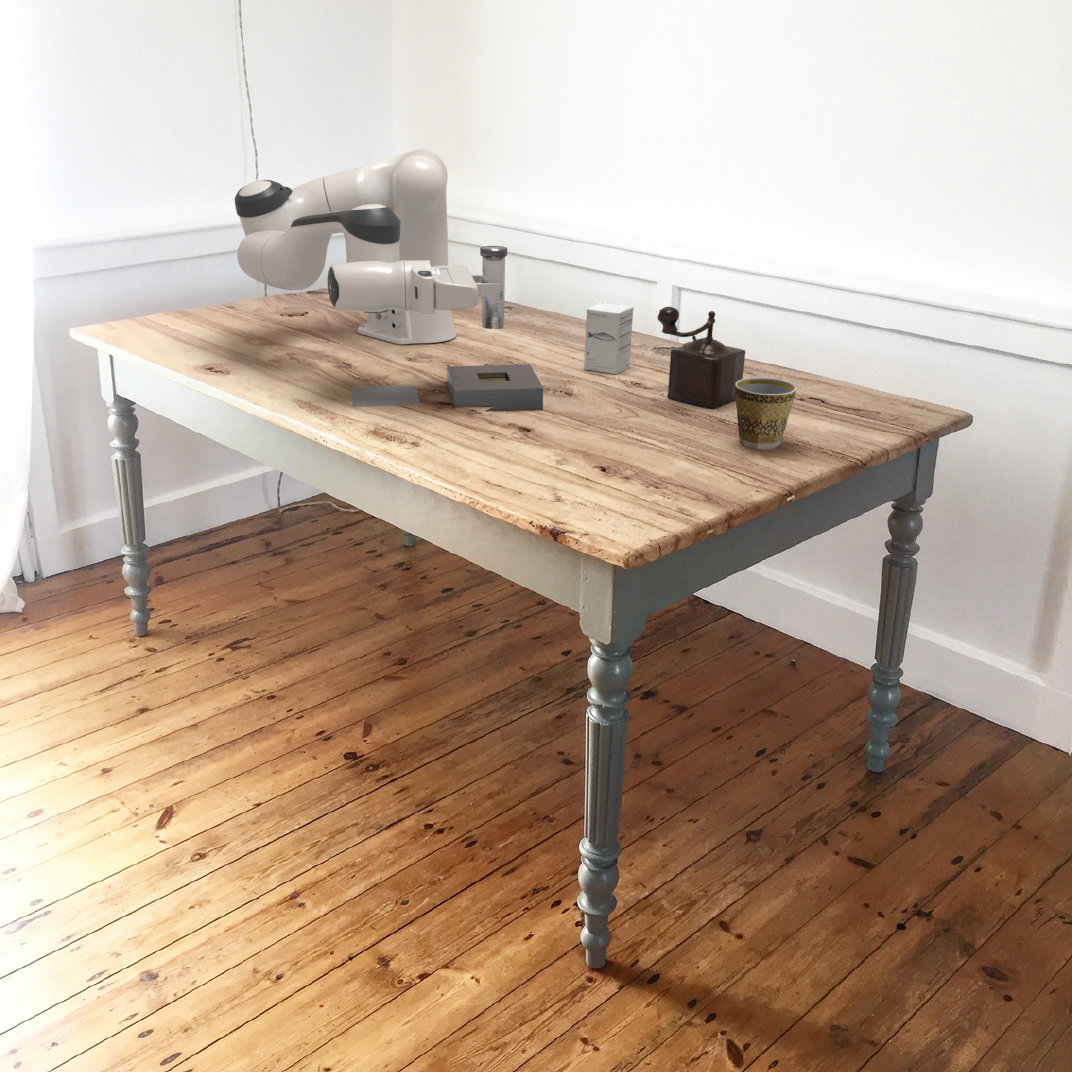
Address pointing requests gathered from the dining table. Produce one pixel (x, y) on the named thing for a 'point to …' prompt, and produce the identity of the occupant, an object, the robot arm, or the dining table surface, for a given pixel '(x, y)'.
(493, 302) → the steel rivet
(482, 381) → the yellow square plate
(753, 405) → the ceramic cup
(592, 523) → the dining table surface
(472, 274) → the robot arm
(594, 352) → the supplement box
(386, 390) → the rest pad
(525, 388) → the block
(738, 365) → the manual coffee grinder
